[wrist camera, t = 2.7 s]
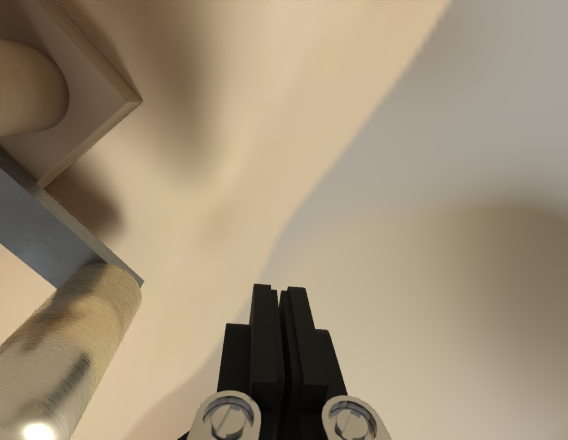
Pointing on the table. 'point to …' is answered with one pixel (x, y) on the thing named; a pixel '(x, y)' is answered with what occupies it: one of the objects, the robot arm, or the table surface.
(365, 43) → the table surface
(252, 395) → the robot arm
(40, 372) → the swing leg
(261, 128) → the table surface
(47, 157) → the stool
